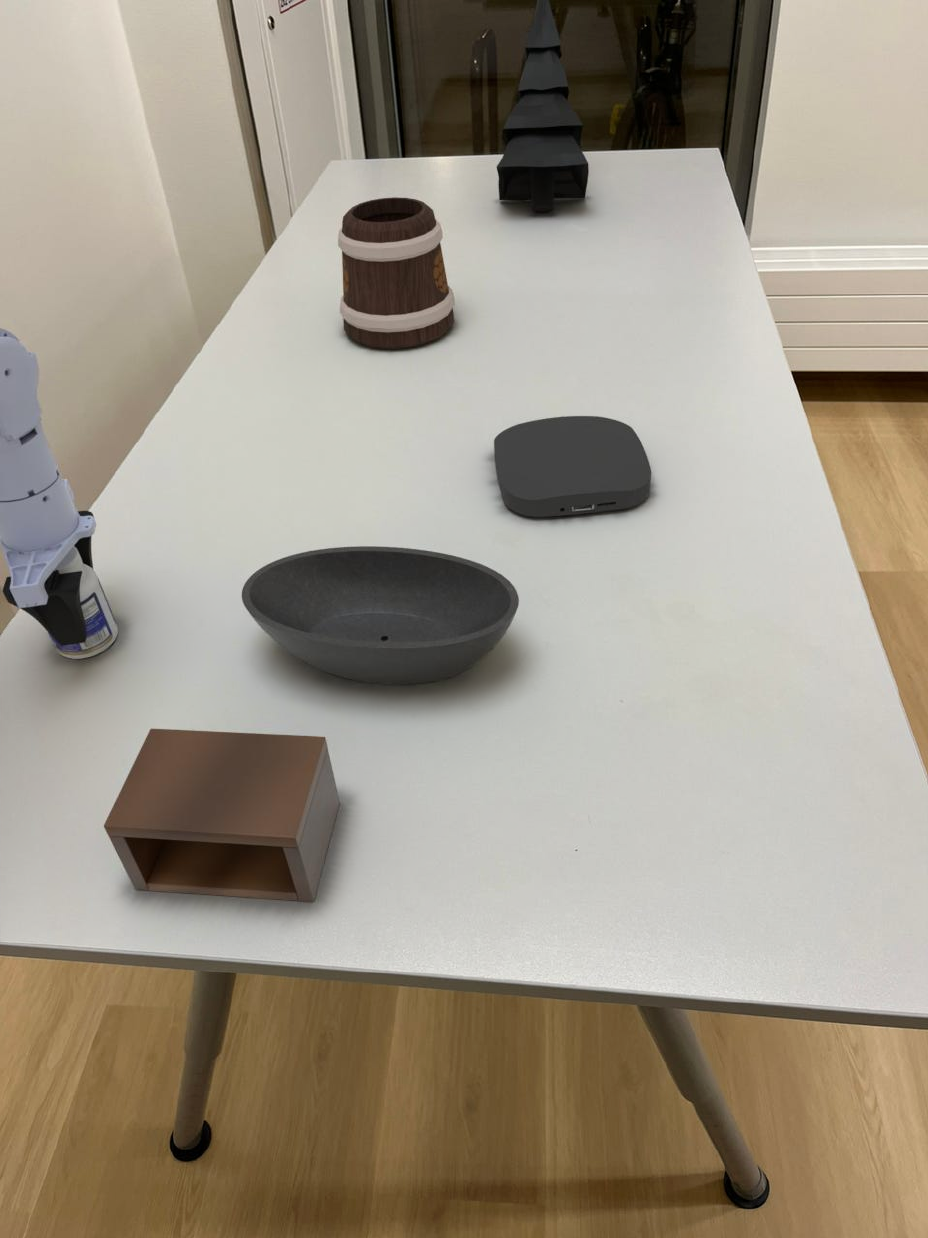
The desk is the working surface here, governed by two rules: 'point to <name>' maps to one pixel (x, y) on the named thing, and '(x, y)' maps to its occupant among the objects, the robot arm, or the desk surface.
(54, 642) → the pill bottle
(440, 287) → the mug
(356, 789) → the desk surface
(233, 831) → the shelf
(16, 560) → the robot arm
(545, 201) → the decorative tree
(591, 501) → the media streaming box
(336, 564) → the bowl
